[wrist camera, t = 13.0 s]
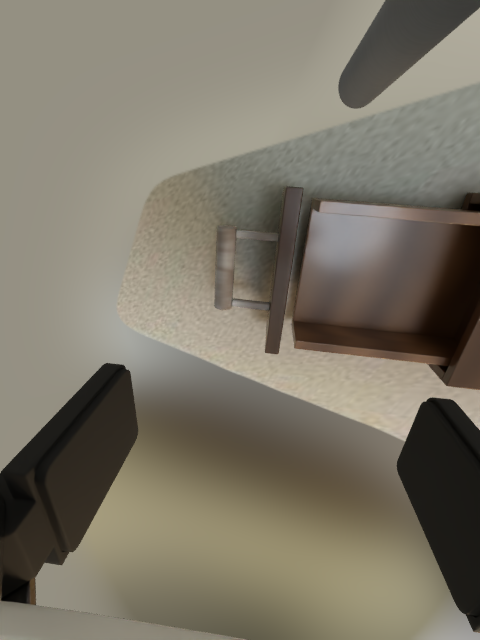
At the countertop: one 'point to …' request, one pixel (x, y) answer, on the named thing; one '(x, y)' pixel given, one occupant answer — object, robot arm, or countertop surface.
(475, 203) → the cabinet
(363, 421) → the countertop surface
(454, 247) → the drawer
